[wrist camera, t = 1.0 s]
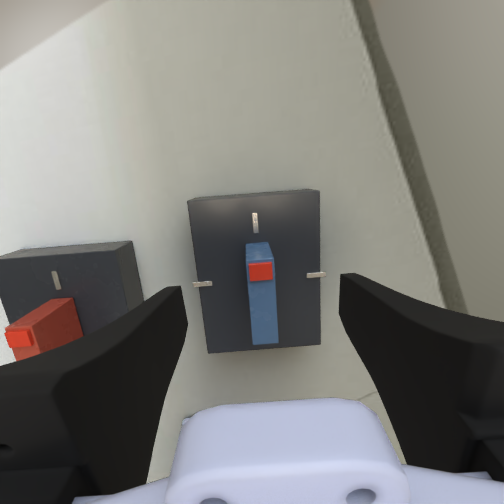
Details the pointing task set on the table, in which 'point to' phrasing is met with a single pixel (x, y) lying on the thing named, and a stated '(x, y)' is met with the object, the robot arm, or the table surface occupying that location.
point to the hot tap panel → (72, 281)
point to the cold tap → (262, 293)
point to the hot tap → (44, 328)
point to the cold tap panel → (234, 265)
